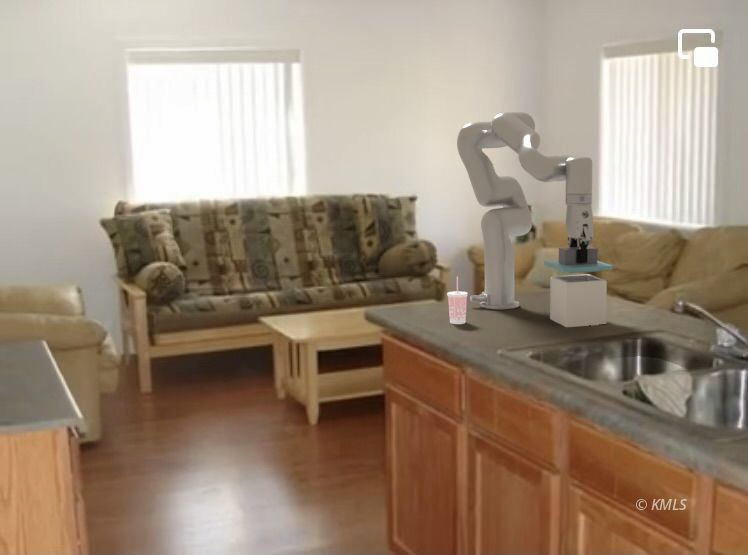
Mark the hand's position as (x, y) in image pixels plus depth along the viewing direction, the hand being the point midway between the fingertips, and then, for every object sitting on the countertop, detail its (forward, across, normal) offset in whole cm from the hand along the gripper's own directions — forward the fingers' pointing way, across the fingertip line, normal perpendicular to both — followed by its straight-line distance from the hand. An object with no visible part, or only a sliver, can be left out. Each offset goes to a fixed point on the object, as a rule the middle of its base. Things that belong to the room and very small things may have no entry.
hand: (577, 260), depth 294 cm
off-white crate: (+18, 0, 0) cm, 18 cm away
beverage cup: (+19, +10, +34) cm, 40 cm away
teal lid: (+3, 0, 0) cm, 3 cm away
